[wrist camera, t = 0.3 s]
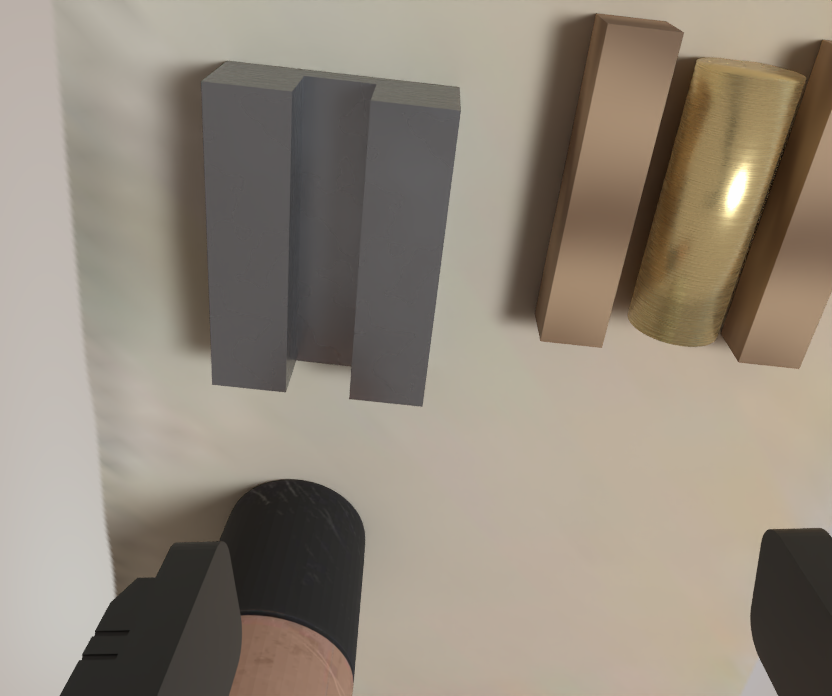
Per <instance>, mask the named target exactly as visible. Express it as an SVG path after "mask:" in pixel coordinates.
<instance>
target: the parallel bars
mask: <svg viewBox="0 0 832 696" xmlns="http://www.w3.org/2000/svg"><path fill="white" fill-rule="evenodd" d="M683 34H684V32H682V31H681V30H679V29H677V28H676V27H674V26H673V25H671V24H669V23H668V22H666V21H657V20H648V19H640V18H631V17H622V16H614V15H605V14H597V13H596V16H595V21H594V26H593V30H592V35H591V40H590V45H589V50H588V55H587V60H586V65H585V70H584V75H583V79H582V84H581V89H580V94H579V99H578V104H577V109H576V114H575V119H574V124H573V128H572V133H571V138H570V143H569V148H568V153H567V158H566V163H565V168H564V173H563V177H562V182H561V187H560V192H559V197H558V202H557V207H556V212H555V217H554V222H553V226H552V231H551V236H550V241H549V246H548V251H547V256H546V261H545V266H544V271H543V275H542V280H541V285H540V290H539V295H538V300H537V305H536V310H535V317H536V322H537V327H538V332H539V336H540V341H543V342H553V343H562V344H572V345H581V346H590V347H600V348H602V345H603V341H604V337H605V334H606V330H607V326H608V322H609V318H610V314H611V311H612V307H613V303H614V299H615V295H616V291H617V288H618V284H619V280H620V276H621V272H622V268H623V265H624V261H625V257H626V253H627V249H628V245H629V241H630V238H631V234H632V230H633V226H634V222H635V218H636V215H637V211H638V207H639V203H640V199H641V195H642V192H643V188H644V184H645V180H646V176H647V172H648V169H649V165H650V161H651V157H652V153H653V149H654V145H655V142H656V138H657V134H658V130H659V126H660V122H661V119H662V115H663V111H664V107H665V103H666V99H667V96H668V92H669V88H670V84H671V80H672V76H673V73H674V69H675V65H676V61H677V57H678V53H679V50H680V46H681V42H682V38H683ZM831 292H832V41H829V40H822V43H821V46H820V49H819V52H818V55H817V58H816V60H815V63H814V66H813V69H812V72H811V75H810V78H809V81H808V83H807V86H806V89H805V92H804V95H803V98H802V101H801V104H800V107H799V109H798V112H797V115H796V118H795V121H794V124H793V127H792V130H791V132H790V135H789V138H788V141H787V144H786V147H785V150H784V153H783V155H782V158H781V161H780V164H779V167H778V170H777V173H776V176H775V179H774V181H773V184H772V187H771V190H770V193H769V196H768V199H767V202H766V204H765V207H764V210H763V213H762V216H761V219H760V222H759V225H758V227H757V230H756V233H755V236H754V239H753V242H752V245H751V248H750V251H749V253H748V256H747V259H746V262H745V265H744V268H743V271H742V274H741V276H740V279H739V282H738V285H737V288H736V291H735V294H734V297H733V299H732V302H731V305H730V308H729V311H728V314H727V317H726V320H725V323H724V325H723V328H722V331H721V334H722V336H723V338H724V339H725V341H726V343H727V344H728V346H729V348H730V349H731V351H732V352H733V354H734V356H735V357H736V359H737V361H738V362H740V363H749V364H758V365H768V366H777V367H786V368H796V369H799V368H800V366H801V363H802V361H803V359H804V356H805V354H806V352H807V349H808V347H809V344H810V342H811V340H812V337H813V335H814V332H815V330H816V328H817V325H818V323H819V320H820V318H821V316H822V313H823V311H824V308H825V306H826V304H827V301H828V299H829V296H830V294H831Z"/></svg>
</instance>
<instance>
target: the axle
mask: <svg viewBox="0 0 832 696" xmlns="http://www.w3.org/2000/svg"><path fill="white" fill-rule="evenodd" d="M805 82H806V77H805V76H803V75H802V74H799V73H797V72H794V71H791V70H788V69H784V68H780V67H776V66H772V65H767V64H762V63H757V62H749V61H740V60H731V59H723V58H700V59H697V62H696V66H695V69H694V73H693V77H692V80H691V84H690V88H689V91H688V95H687V99H686V102H685V106H684V110H683V113H682V117H681V121H680V124H679V128H678V131H677V135H676V139H675V142H674V146H673V150H672V153H671V157H670V161H669V164H668V168H667V172H666V175H665V179H664V183H663V186H662V190H661V194H660V197H659V201H658V205H657V208H656V212H655V216H654V219H653V223H652V227H651V230H650V234H649V238H648V241H647V245H646V249H645V252H644V256H643V260H642V263H641V267H640V271H639V274H638V278H637V282H636V285H635V289H634V293H633V296H632V300H631V304H630V307H629V311H628V319H629V321H630V323H631V324H632V325H633V326H634V327H635V328H636V329H638V330H639V331H641V332H642V333H644V334H646V335H647V336H649V337H652V338H654V339H656V340H659V341H662V342H665V343H669V344H674V345H679V346H688V347H697V346H705V345H708V344H711V343H713V342H714V341H715V340H716V339H717V337H718V334H719V331H720V328H721V325H722V322H723V319H724V316H725V313H726V311H727V308H728V305H729V302H730V299H731V296H732V293H733V290H734V287H735V284H736V282H737V279H738V276H739V273H740V270H741V267H742V264H743V261H744V258H745V255H746V253H747V250H748V247H749V244H750V241H751V238H752V235H753V232H754V229H755V227H756V224H757V221H758V218H759V215H760V212H761V209H762V206H763V203H764V200H765V198H766V195H767V192H768V189H769V186H770V183H771V180H772V177H773V174H774V171H775V169H776V166H777V163H778V160H779V157H780V154H781V151H782V148H783V145H784V143H785V140H786V137H787V134H788V131H789V128H790V125H791V122H792V119H793V116H794V114H795V111H796V108H797V105H798V102H799V99H800V96H801V93H802V90H803V87H804V85H805Z"/></svg>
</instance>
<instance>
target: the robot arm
mask: <svg viewBox="0 0 832 696" xmlns="http://www.w3.org/2000/svg"><path fill="white" fill-rule="evenodd" d="M750 620H751V631H752V637H753V641H754V645H755V648H756V651H757V654H758V656H759V658H760V660H761V662H762V664H763V666H764V668H765V670H766V672H767V674H768V676H769V678H770V680H771V682H772V684H773V686H774V688H775V690H776V692H777V694H778V696H832V537H831V536H830V535H829V533H828V532H827V531H825V530H824V529H822V528H803V529H769V530H767V531H766V532H765V533H764V535H763V538H762V542H761V548H760V554H759V561H758V567H757V573H756V580H755V586H754V592H753V599H752V605H751V615H750ZM241 645H242V621H241V615H240V609H239V603H238V598H237V592H236V586H235V581H234V575H233V569H232V564H231V558H230V553H229V549H228V546H227V544H226V543H225V542H223V541H220V542H180V543H174V544H173V545H172V546H171V548H170V550H169V552H168V554H167V556H166V558H165V560H164V562H163V564H162V566H161V568H160V570H159V572H158V574H157V576H156V578H137V579H136V580H135V581H134V582H133V583H131V584H130V585H129V586H128V587H127V588H126V589H125V590H124V591H123V592H122V593H121V594H119V595H118V596H117V597H116V598H115V599H114V600H113V601H112V602H111V603H110V605H109V606H108V608H107V610H106V612H105V614H104V616H103V617H102V619H101V621H100V623H99V625H98V627H97V629H96V630H95V636H94V637H92V638H91V640H90V641H89V643H88V645H87V647H86V649H85V650H84V652H83V654H82V656H83V657H82V660H79V662H78V663H77V665H76V667H75V669H74V671H73V672H72V674H71V676H70V678H69V680H68V682H67V683H66V685H65V687H64V689H63V691H62V693H61V695H60V696H229V694H230V690H231V687H232V684H233V680H234V677H235V674H236V670H237V667H238V663H239V659H240V654H241Z"/></svg>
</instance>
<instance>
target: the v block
mask: <svg viewBox="0 0 832 696" xmlns="http://www.w3.org/2000/svg"><path fill="white" fill-rule="evenodd" d="M201 92H202V119H203V146H204V173H205V200H206V227H207V254H208V281H209V308H210V335H211V362H212V385H221V386H231V387H240V388H250V389H260V390H269V391H279V392H286V390H287V387H288V384H289V381H290V378H291V375H292V372H293V369H294V365H295V362H296V360H298V361H307V362H317V363H326V364H336V365H345V366H352V369H351V383H350V397H349V399H355V400H364V401H374V402H383V403H393V404H402V405H412V406H422V405H423V398H424V390H425V382H426V375H427V367H428V359H429V351H430V344H431V336H432V328H433V321H434V313H435V305H436V297H437V290H438V282H439V274H440V267H441V259H442V251H443V243H444V236H445V228H446V220H447V213H448V205H449V197H450V189H451V182H452V174H453V166H454V159H455V151H456V143H457V136H458V128H459V120H460V112H461V106H460V88H459V87H452V86H443V85H435V84H426V83H417V82H408V81H399V80H391V79H382V78H373V77H364V76H355V75H347V74H338V73H329V72H320V71H311V70H303V69H294V68H285V67H276V66H267V65H259V64H250V63H241V62H232V61H226V62H225V63H224V64H222V65H221V66H220V67H219V68H217V69H216V70H215V71H214V72H212V73H211V74H210V75H208V76H207V77H206V78H205V79H203V80H202V81H201Z"/></svg>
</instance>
